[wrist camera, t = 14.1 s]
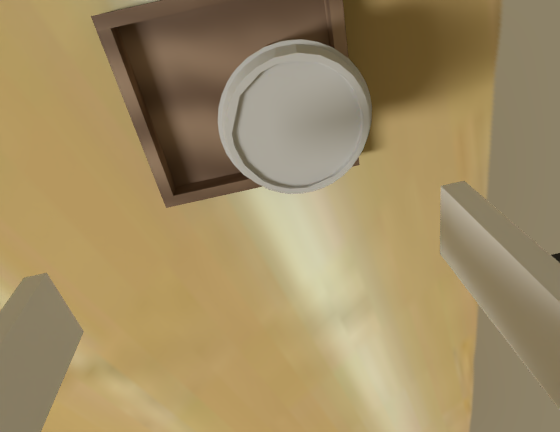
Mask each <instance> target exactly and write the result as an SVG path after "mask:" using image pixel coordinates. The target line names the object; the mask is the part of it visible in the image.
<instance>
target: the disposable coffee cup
mask: <svg viewBox="0 0 560 432" xmlns="http://www.w3.org/2000/svg"><path fill="white" fill-rule="evenodd" d="M371 120H372V104H371V97H370V93H369V90H368V87H367V84H366V82H365V80H364V78H363V76H362V75H361V73H360V71H359V70H358V69H357V67H356V66H355V65H354V64H353V63H352V62H351V60H350V59H349V58H347V57H346V56H344V55H343V54H342V53H340V52H339V51H337V50H336V49H334V48H333V47H330V46H328V45H325V44H322V43H320V42H316V41H311V40H303V39H296V40H286V41H280V42H276V43H272V44H268V45H266V46H264V47H263V48H261V49H260V50H258V51H257V52H255V53H254V54H252V55H251V56H249V57H248V58H246V59H245V60H244V61H243V62H242V63H241V64H240V65H239V66H238V67H237V68H236V70H235V71H234V72H233V73H232V75H231V76H230V78H229V80H228V81H227V83H226V86H225V88H224V90H223V93H222V95H221V99H220V104H219V108H218V129H219V135H220V139H221V142H222V145H223V147H224V149H225V152H226V154H227V155H228V157H229V158H230V160H231V161H232V163H233V164H234V165H235V166H236V167H237V168H238V169H239V171H240V172H241V173H242V174H243V175H245V176H246V177H248V178H249V179H251V180H252V181H254V182H255V183H257V184H259V185H261V186H263V187H265V188H267V189H269V190H273V191H277V192H280V193H288V194H296V193H306V192H311V191H315V190H318V189H321V188H324V187H326V186H328V185H330V184H332V183H333V182H335V181H336V180H338V179H339V178H341V177H342V176H343V175H344V174H345V173H346V172H347V171H348V170H349V169H350V168H351V167H352V166H353V165H354V163H355V162H356V160H357V159H358V157H359V156H360V154H361V152H362V150H363V149H364V146H365V143H366V140H367V138H368V135H369V131H370V126H371Z"/></svg>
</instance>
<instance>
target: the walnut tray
mask: <svg viewBox="0 0 560 432" xmlns="http://www.w3.org/2000/svg"><path fill="white" fill-rule="evenodd" d="M91 18H92V20H93V23H94V25H95V28H96V30H97V33H98V36H99V38H100V41H101V43H102V46H103V48H104V51H105V53H106V56H107V58H108V61H109V64H110V66H111V69H112V71H113V74H114V76H115V79H116V81H117V84H118V86H119V89H120V91H121V94H122V97H123V99H124V102H125V104H126V107H127V109H128V112H129V114H130V117H131V119H132V122H133V125H134V127H135V130H136V132H137V135H138V137H139V140H140V142H141V145H142V147H143V150H144V153H145V155H146V158H147V160H148V163H149V165H150V168H151V170H152V173H153V175H154V178H155V181H156V183H157V186H158V188H159V191H160V193H161V196H162V198H163V201H164V203H165V206H166V208H167V207H172V206H176V205H181V204H185V203H190V202H194V201H199V200H203V199H208V198H212V197H217V196H221V195H226V194H230V193H235V192H240V191H244V190H249V189H253V188H258V187H262V186H261V185H259V184H257V183H255V182H254V181H252V180H251V179H249V178H248V177H246V176H245V175H243V174H242V173H241V172H240V171H239V169H238V168H237V167H236V166H235V165H234V164H233V163H232V161H231V160H230V158H229V157H228V155H227V154H226V152H225V149H224V147H223V145H222V142H221V139H220V135H219V129H218V108H219V104H220V99H221V95H222V93H223V90H224V88H225V86H226V83H227V81H228V80H229V78H230V76H231V75H232V73H233V72H234V71H235V70H236V68H237V67H238V66H239V65H240V64H241V63H242V62H243V61H244V60H245V59H246V58H248V57H249V56H251V55H252V54H254V53H255V52H257V51H258V50H260V49H261V48H263V47H264V46H266V45H268V44H272V43H276V42H280V41H286V40H296V39H303V40H311V41H316V42H320V43H322V44H325V45H328V46H330V47H333V48H334V49H336V50H337V51H339V52H340V53H342V54H343V55H344V56H346V57H347V58H348V49H347V39H346V29H345V19H344V9H343V0H160V1H156V2H152V3H147V4H143V5H138V6H134V7H130V8H125V9H121V10H116V11H112V12H108V13H103V14H99V15H95V16H91ZM357 165H359V157H358V159H357V160H356V162H355V163H354V165H353V166H357Z"/></svg>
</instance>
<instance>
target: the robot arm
mask: <svg viewBox="0 0 560 432" xmlns="http://www.w3.org/2000/svg"><path fill="white" fill-rule="evenodd" d="M440 254H441V256H442V257H443V258H444V259H445V261H446V262H447V263H448V265H449V266H450V267H451V269H452V270H453V271H454V273H455V274H456V275H457V277H458V278H459V279H460V280H461V282H462V283H463V284H464V286H465V287H466V288H467V290H468V291H469V292H470V294H471V295H472V296H473V298H474V299H475V300H476V301H477V303H478V304H479V305H480V307H481V308H482V309H483V311H484V312H485V313H486V315H487V316H488V317H489V318H490V320H491V321H492V322H493V324H494V325H495V326H496V328H497V329H498V330H499V331H500V333H501V334H502V335H503V337H504V338H505V339H506V341H507V342H508V343H509V345H510V346H511V347H512V349H513V350H514V351H515V352H516V354H517V355H518V357H519V358H520V359H521V360H522V362H523V363H524V364H525V366H526V367H527V368H528V370H529V371H530V372H531V374H532V375H533V376H534V378H535V379H536V380H537V381H538V383H539V384H540V385H541V386H542V388H543V389H544V391H545V392H546V393H547V394H548V396H549V397H550V399H551V400H552V401H553V402H554V404H555V405H556V406H557V408H558V409H559V410H560V253H558V254H554V255H550V254H549V253H548V252H546V251H545V250H544V249H543V248H542V247H541V246H539V245H538V244H537V243H536V242H535V241H534V240H533V239H531V238H530V237H529V236H528V235H527V234H526V233H524V232H523V231H522V230H521V229H520V228H519V227H517V226H516V225H515V224H514V223H513V222H512V221H510V220H509V219H508V218H507V217H506V216H505V215H503V214H502V213H501V212H500V211H499V210H498V209H496V208H495V207H494V206H493V205H492V204H491V203H489V202H488V201H487V200H486V199H485V198H484V197H482V196H481V195H480V194H479V193H478V192H477V191H475V190H474V189H473V188H472V187H471V186H470V185H468V184H467V183H466V182H465V181H461V182H456V183H452V184H447V185H443V186H441V216H440ZM83 332H84V331H83V330H82V328H81V326H80V325H79V323H78V322H77V320H76V318H75V317H74V315H73V314H72V312H71V311H70V309H69V307H68V306H67V304H66V303H65V301H64V300H63V298H62V296H61V295H60V293H59V292H58V290H57V288H56V287H55V285H54V284H53V282H52V281H51V279H50V277H49V276H48V274H47V273H44V274H39V275H35V276H30V277H26V278H23V280H22V281H21V283H20V284H19V286H18V287H17V288H16V290H15V291H14V293H13V294H12V295H11V297H10V298H9V300H8V301H7V302H6V304H5V305H4V307H3V308H2V310H1V311H0V432H41V430H42V428H43V425H44V423H45V421H46V418H47V416H48V414H49V411H50V409H51V407H52V404H53V402H54V400H55V397H56V395H57V393H58V390H59V388H60V386H61V383H62V381H63V379H64V376H65V374H66V372H67V369H68V367H69V365H70V362H71V360H72V358H73V355H74V353H75V351H76V348H77V346H78V344H79V341H80V339H81V337H82V334H83Z"/></svg>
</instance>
